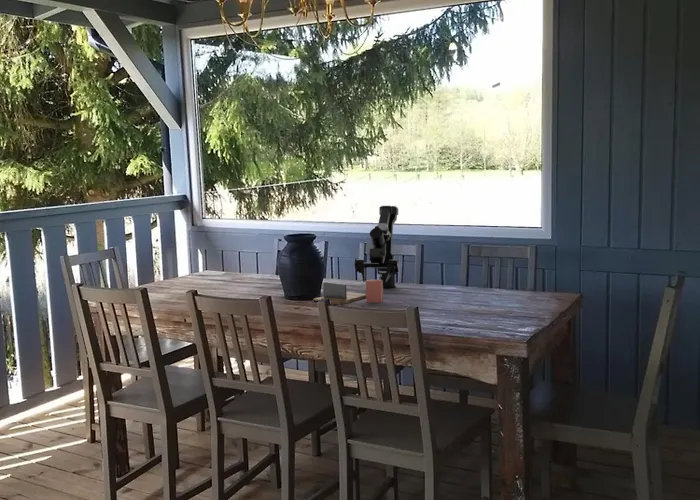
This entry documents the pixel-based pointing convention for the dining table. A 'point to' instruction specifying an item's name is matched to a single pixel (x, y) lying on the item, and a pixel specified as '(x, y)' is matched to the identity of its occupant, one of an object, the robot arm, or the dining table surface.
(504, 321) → the dining table surface
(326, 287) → the bookend
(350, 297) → the shelf board
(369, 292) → the salmon pink block
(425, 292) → the dining table surface
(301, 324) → the dining table surface
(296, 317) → the dining table surface
